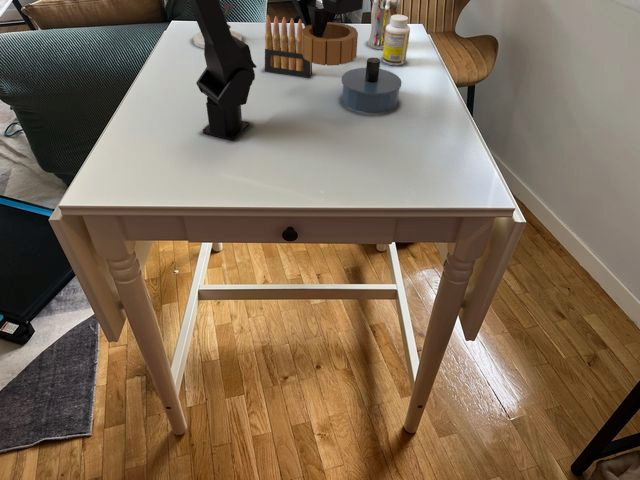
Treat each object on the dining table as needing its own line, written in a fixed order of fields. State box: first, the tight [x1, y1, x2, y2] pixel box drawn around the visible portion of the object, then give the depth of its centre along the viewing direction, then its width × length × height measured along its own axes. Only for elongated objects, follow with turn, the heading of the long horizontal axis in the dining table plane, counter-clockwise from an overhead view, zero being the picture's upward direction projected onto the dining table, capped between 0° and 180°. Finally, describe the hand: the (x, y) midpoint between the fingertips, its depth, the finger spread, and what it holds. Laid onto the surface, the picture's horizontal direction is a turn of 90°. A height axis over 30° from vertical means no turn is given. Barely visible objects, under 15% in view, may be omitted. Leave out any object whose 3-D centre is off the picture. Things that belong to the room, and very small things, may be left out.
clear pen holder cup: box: [367, 0, 401, 50], centre depth 119 cm, size 7×7×15 cm
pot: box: [341, 84, 400, 114], centre depth 99 cm, size 11×11×4 cm
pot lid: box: [341, 57, 403, 96], centre depth 96 cm, size 12×12×5 cm
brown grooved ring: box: [302, 21, 359, 67], centre depth 88 cm, size 10×10×4 cm
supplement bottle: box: [381, 14, 411, 66], centre depth 113 cm, size 6×6×10 cm
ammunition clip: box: [264, 14, 313, 79], centre depth 106 cm, size 11×2×12 cm, turn 75°
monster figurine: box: [192, 1, 243, 49], centre depth 119 cm, size 12×12×10 cm
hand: (315, 39), depth 91 cm, fingers closed on brown grooved ring
